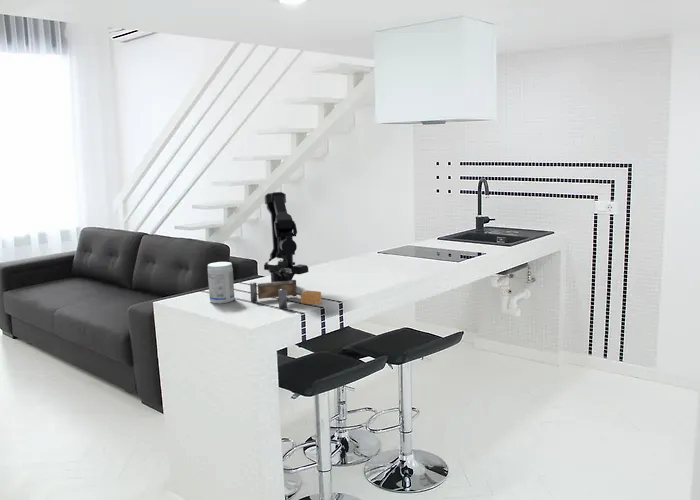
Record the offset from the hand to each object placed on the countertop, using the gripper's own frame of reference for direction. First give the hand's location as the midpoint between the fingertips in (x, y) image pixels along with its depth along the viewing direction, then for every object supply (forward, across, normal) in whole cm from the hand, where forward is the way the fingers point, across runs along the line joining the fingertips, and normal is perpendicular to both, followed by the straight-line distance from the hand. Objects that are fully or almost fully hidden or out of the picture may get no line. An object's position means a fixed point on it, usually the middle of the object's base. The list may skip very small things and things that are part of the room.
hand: (286, 288), depth 260 cm
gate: (+3, 0, -5) cm, 6 cm away
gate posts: (+3, +3, -14) cm, 15 cm away
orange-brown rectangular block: (+3, +14, -3) cm, 15 cm away
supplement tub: (+3, -17, -19) cm, 26 cm away
